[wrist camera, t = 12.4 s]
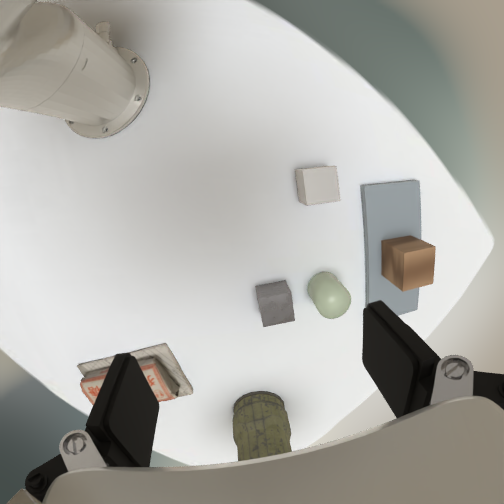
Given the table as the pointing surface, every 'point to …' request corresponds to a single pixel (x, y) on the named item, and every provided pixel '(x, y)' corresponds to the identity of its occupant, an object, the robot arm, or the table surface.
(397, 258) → the walnut block
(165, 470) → the robot arm
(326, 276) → the sage plastic cylinder
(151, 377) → the packaged product
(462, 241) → the table surface
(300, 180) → the grey plastic cube
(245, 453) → the thermos
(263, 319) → the dark metal block
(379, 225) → the slate board
